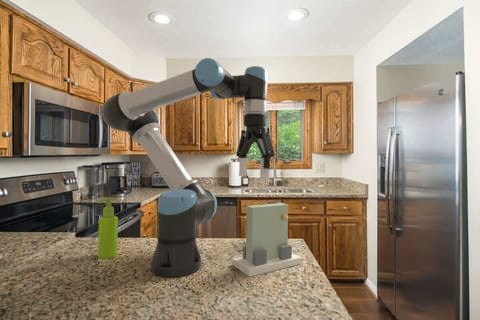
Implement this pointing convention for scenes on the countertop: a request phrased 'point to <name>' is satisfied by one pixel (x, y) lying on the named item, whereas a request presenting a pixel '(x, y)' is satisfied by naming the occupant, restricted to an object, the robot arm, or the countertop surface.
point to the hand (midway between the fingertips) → (252, 177)
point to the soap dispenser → (107, 231)
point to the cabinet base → (262, 264)
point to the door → (266, 229)
